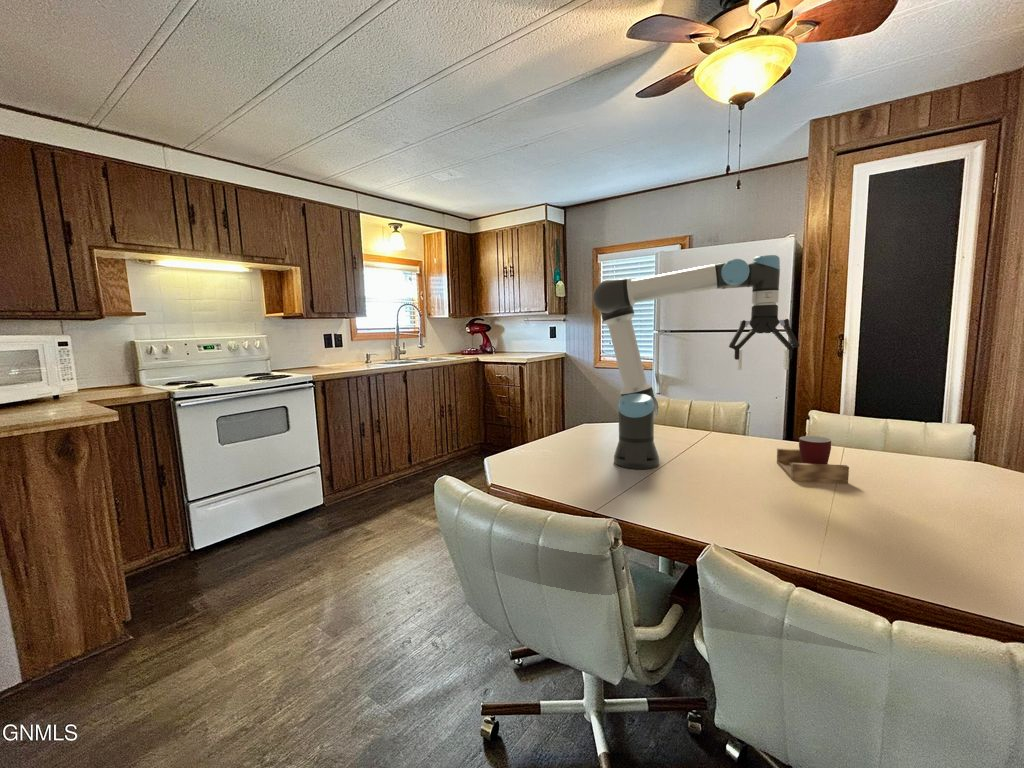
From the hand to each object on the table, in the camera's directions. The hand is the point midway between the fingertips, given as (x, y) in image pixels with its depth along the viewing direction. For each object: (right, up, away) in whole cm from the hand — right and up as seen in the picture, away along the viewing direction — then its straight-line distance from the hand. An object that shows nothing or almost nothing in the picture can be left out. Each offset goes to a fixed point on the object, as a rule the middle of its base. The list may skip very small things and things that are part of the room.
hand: (762, 369), depth 146 cm
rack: (+9, -32, -10) cm, 35 cm away
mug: (+10, -32, -10) cm, 35 cm away
